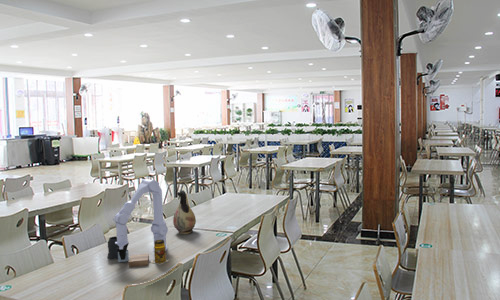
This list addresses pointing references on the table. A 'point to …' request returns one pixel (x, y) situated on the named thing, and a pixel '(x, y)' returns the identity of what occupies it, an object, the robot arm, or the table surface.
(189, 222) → the ceramic jug
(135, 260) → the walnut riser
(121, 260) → the blue cube
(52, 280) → the table surface
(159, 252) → the condiment
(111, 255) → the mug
